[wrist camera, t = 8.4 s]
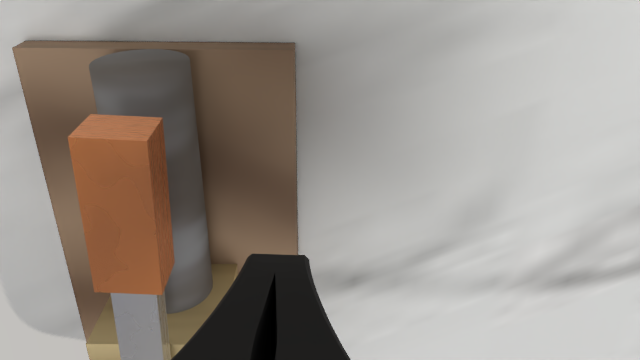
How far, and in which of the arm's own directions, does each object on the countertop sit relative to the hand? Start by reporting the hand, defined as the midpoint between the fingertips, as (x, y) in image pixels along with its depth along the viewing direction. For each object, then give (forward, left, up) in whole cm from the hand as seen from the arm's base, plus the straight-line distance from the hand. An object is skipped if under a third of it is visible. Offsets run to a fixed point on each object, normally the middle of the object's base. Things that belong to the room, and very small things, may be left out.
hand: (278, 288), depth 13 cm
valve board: (-9, +5, -10) cm, 15 cm away
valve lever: (-4, +5, -4) cm, 7 cm away
